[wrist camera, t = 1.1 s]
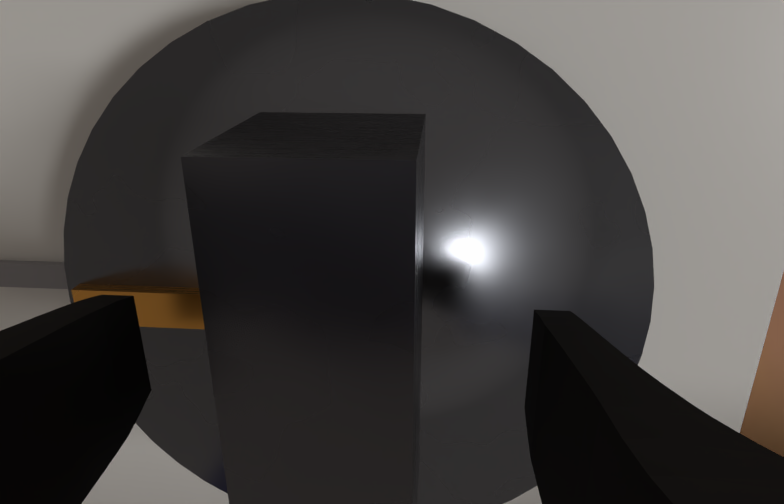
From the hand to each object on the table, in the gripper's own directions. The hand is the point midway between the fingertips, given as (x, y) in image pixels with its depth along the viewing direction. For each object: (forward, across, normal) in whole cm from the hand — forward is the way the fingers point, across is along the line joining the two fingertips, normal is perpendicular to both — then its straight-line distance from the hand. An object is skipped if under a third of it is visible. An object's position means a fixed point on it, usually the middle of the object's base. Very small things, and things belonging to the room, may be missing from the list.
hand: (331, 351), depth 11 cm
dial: (+3, 0, 0) cm, 3 cm away
